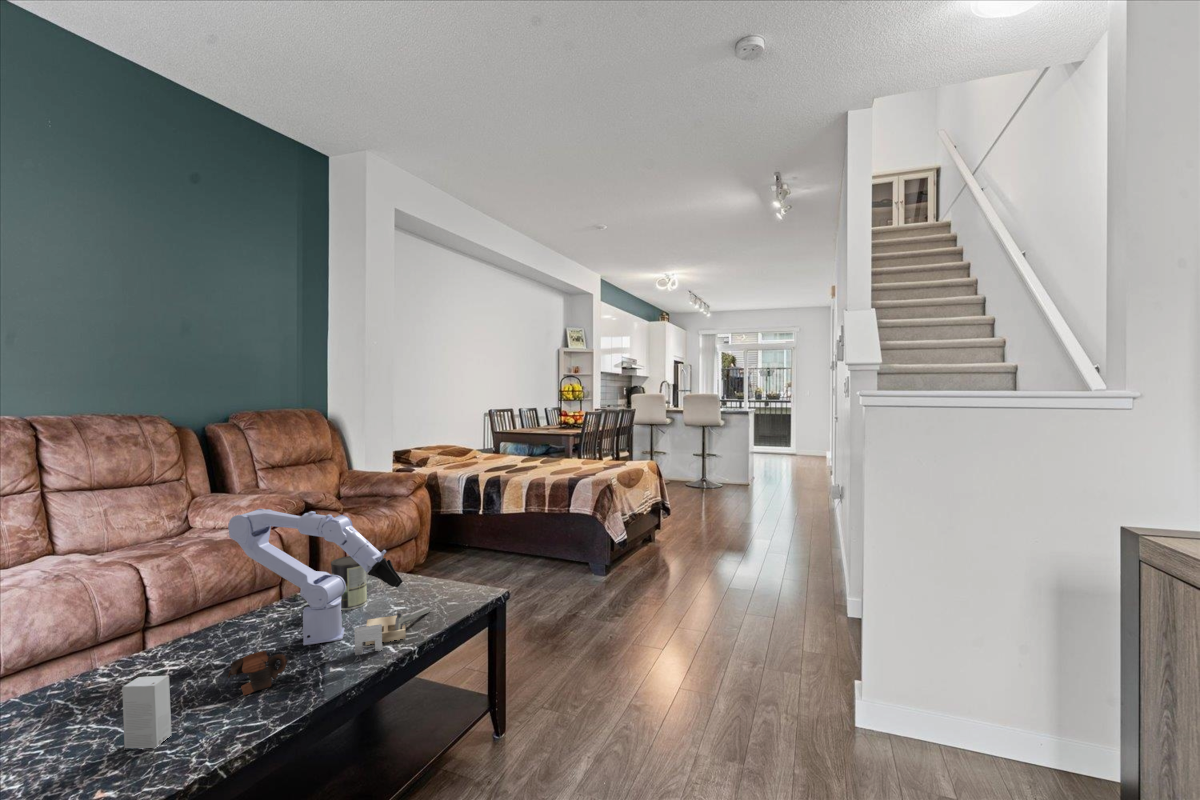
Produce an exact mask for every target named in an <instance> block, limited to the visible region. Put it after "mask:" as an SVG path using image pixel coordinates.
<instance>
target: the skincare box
mask: <svg viewBox="0 0 1200 800" xmlns="http://www.w3.org/2000/svg"><path fill="white" fill-rule="evenodd" d="M121 692H122V694H121V695H122V718H123V742H124V743H123V746H124V747H123V748H124V749H125V748H153V747H157V746H158V745H160V744H161V743H162V742H163V741H165V740H166V739H167V738H169V737H170V736H171V737H172V715H171V714H172V713H171V694H170V693H171V692H170V676H169V675H154V676H153V675H151V676H150V675H149V676H139V677H137V678H135V679H133V680H132V681H130V682H128V683H126V684H125V685H124V686H122V687H121ZM171 737H170V738H171ZM170 738H169V739H170ZM166 741H167V740H166ZM166 741H165V742H166ZM160 746H161V745H160Z"/></svg>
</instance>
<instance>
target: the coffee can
mask: <svg viewBox="0 0 1200 800" xmlns="http://www.w3.org/2000/svg"><path fill="white" fill-rule="evenodd" d="M330 567H331V568H330V569H331V575H338V576H340V577H342V578H343V579H344V581H345V584H346V589H345V592H344V593H343V594H342V595H341V597H342V599H341V610H342V611H350V610H351V609H352V610H355V609H359V608H361V607H364V606H366V604H367V603H368V595H367V594H368V593H367V590H368V589H367V572H366V571H365V570H364V568H362V567H361V566H360V565H359V564H358V563H357V562H356V561H355V560H354V559H353V558H352V557H351V556H349V555H348V556H342V557H338V558H335V559H333V560H331V562H330ZM352 610H351V611H352Z"/></svg>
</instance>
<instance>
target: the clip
mask: <svg viewBox="0 0 1200 800" xmlns="http://www.w3.org/2000/svg"><path fill="white" fill-rule="evenodd" d="M373 640H375V644H374V650H375V651H378V652H382V651H383V643H382V624H379V625H372V626H367V625H366V626H360V627H355V628H354V655H355V656H359V655H363V654H364V653H363V652H364V643H365V642H367V641H373ZM381 650H382V651H381ZM375 651H374V652H375Z"/></svg>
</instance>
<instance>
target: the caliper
mask: <svg viewBox="0 0 1200 800" xmlns="http://www.w3.org/2000/svg"><path fill="white" fill-rule="evenodd" d="M432 609H433V608H431V606H426V607H423V608H421V609H418V610H416V611H412V612H407V613H404V612H403V611H402V612H397V614H396V615H397V618H396V622H395V630H400V629H402V626H404V625H405V626H406V625H408V624H411V621H412V620H414V619H416V618H419V617H421V616H424V615H426V614H428V613H429V614H430V612H431V611H432ZM403 614H404V615H403Z"/></svg>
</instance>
